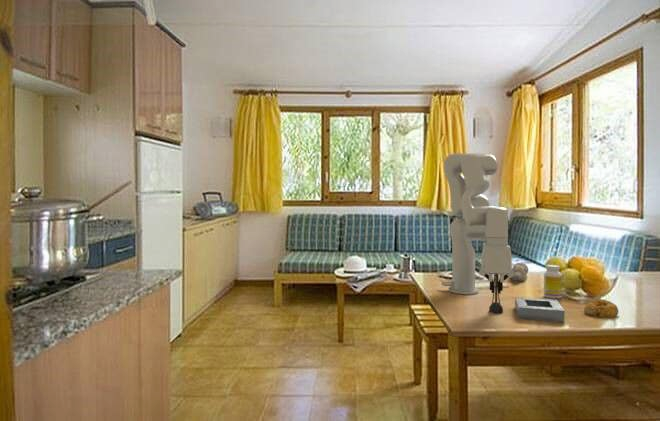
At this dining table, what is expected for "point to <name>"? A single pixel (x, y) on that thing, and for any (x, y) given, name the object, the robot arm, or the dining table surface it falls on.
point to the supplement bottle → (552, 282)
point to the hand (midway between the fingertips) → (496, 292)
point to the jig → (539, 309)
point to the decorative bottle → (519, 272)
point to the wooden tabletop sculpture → (496, 306)
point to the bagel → (601, 308)
